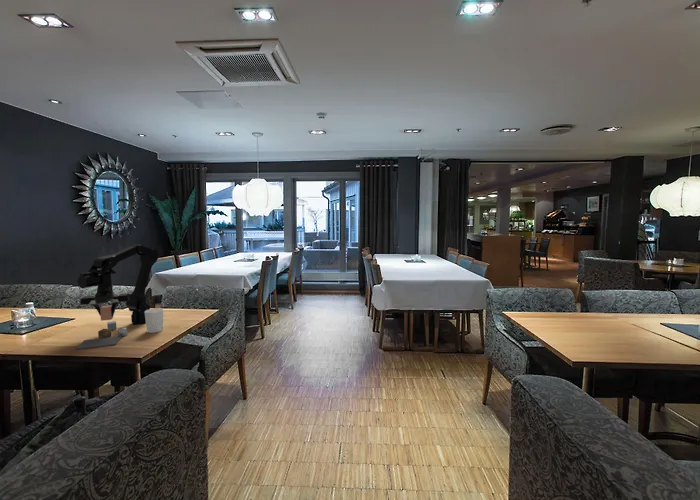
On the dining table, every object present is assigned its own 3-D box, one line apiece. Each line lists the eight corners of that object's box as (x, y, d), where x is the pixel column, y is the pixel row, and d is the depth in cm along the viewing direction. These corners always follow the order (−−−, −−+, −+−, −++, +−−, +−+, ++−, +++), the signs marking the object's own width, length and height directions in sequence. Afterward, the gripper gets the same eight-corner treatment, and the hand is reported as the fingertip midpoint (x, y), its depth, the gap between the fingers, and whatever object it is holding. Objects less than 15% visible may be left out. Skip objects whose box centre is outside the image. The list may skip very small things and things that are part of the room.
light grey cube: (127, 334, 165) (127, 326, 164) (126, 336, 161) (126, 328, 161) (118, 335, 163) (118, 327, 163) (117, 337, 160) (117, 329, 160)
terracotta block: (113, 317, 167) (112, 305, 167) (111, 319, 164) (110, 307, 163) (103, 318, 166) (102, 305, 165) (101, 320, 162) (100, 308, 162)
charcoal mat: (121, 337, 160) (121, 336, 160) (115, 345, 151) (115, 343, 151) (84, 341, 155) (84, 340, 155) (76, 349, 146) (76, 348, 145)
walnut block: (111, 336, 162) (111, 328, 162) (106, 338, 158) (105, 331, 158) (103, 336, 162) (103, 328, 161) (98, 338, 158) (98, 331, 158)
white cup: (167, 329, 172) (166, 309, 171) (154, 334, 164) (153, 313, 163) (155, 327, 174) (154, 307, 173) (141, 332, 167) (140, 312, 166)
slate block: (116, 327, 174) (115, 320, 173) (116, 329, 171) (116, 322, 170) (107, 329, 172) (107, 322, 171) (107, 331, 169) (107, 324, 168)
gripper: (74, 289, 152) (77, 323, 154) (124, 286, 159) (126, 319, 161) (83, 284, 163) (85, 317, 164) (129, 281, 169) (131, 313, 171)
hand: (107, 316), depth 165 cm, fingers closed on terracotta block, 4 cm apart
